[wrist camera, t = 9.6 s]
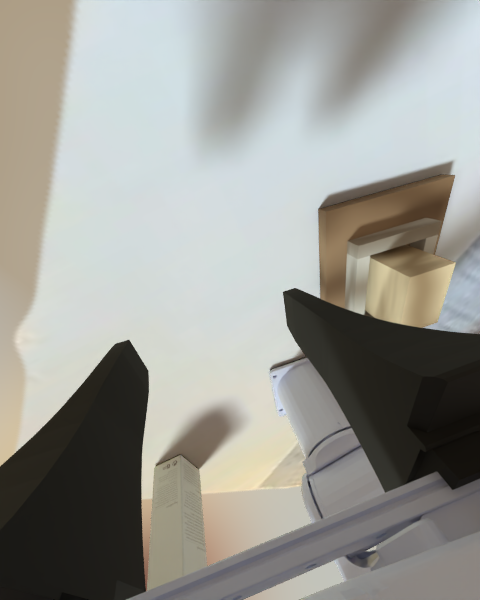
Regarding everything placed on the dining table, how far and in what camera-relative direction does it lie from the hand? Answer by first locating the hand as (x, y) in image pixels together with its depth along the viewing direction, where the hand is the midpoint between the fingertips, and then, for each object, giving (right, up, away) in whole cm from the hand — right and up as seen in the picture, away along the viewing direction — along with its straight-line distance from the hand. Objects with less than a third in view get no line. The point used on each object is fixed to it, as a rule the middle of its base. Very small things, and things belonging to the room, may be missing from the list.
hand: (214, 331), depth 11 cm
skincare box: (-8, -23, +24) cm, 34 cm away
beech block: (+15, +4, +13) cm, 21 cm away
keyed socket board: (+15, +4, +14) cm, 21 cm away
